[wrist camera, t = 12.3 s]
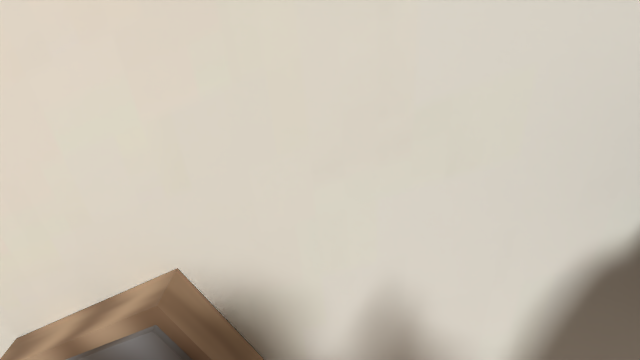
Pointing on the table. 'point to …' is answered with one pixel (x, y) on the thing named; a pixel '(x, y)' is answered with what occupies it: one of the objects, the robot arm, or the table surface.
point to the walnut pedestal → (140, 328)
